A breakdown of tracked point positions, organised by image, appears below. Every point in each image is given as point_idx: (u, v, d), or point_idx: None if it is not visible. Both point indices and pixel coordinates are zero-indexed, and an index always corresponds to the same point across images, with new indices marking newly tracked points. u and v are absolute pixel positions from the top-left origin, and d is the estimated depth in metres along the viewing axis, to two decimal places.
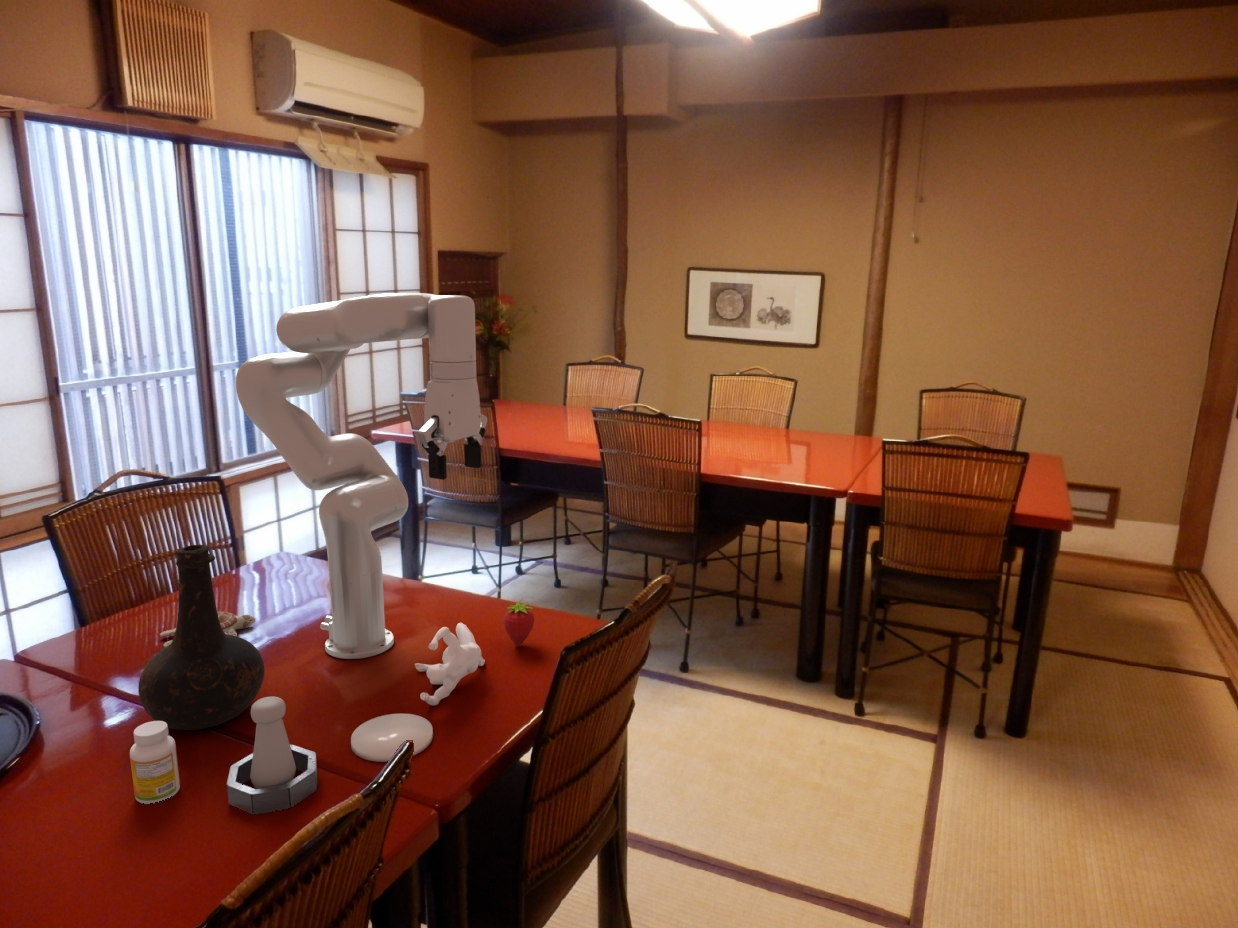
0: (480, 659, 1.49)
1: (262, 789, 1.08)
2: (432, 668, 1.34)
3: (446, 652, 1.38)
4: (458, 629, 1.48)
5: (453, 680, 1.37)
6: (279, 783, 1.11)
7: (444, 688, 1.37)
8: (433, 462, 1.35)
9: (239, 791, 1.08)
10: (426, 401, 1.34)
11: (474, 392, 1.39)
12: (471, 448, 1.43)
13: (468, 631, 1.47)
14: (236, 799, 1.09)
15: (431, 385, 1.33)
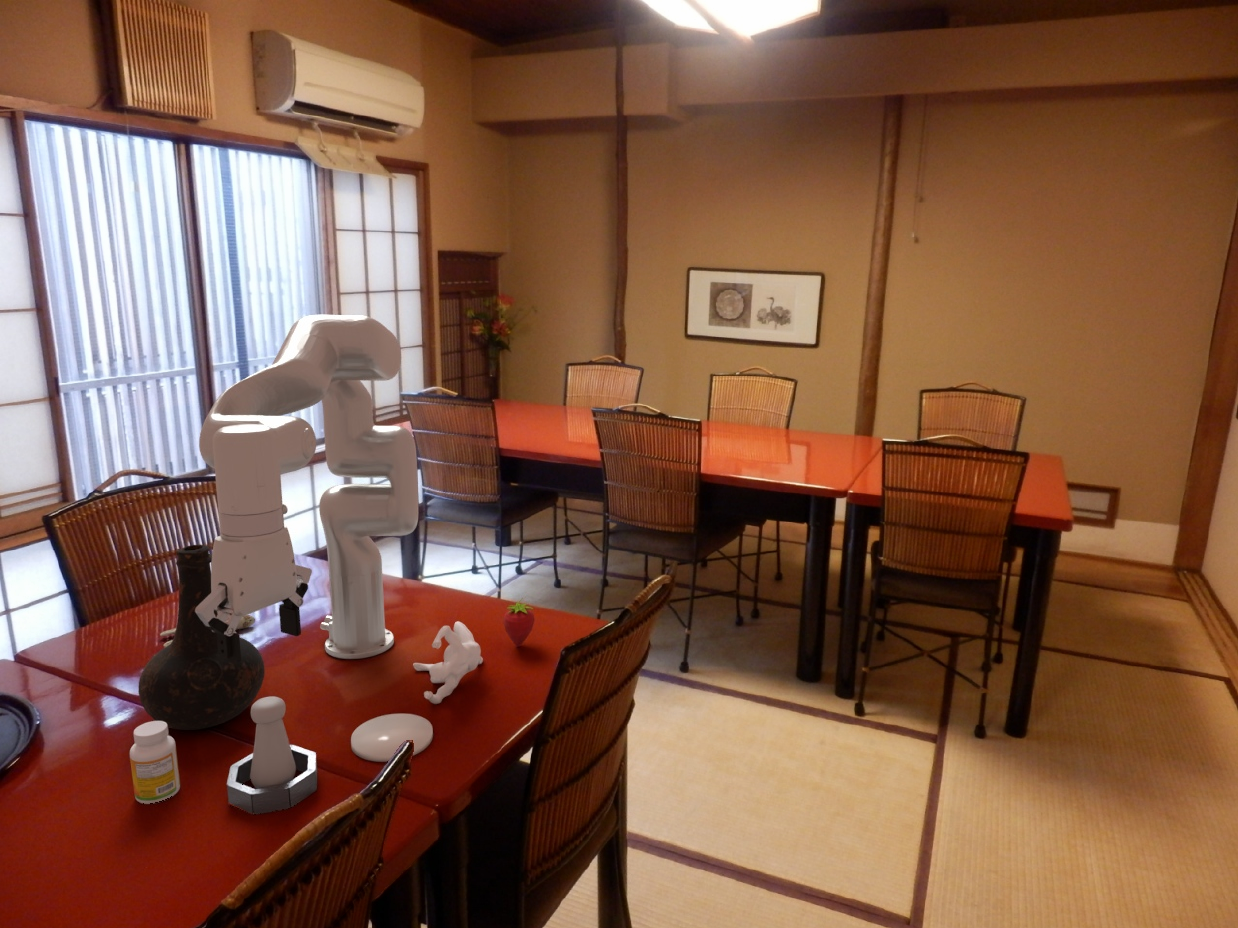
0: (478, 657, 1.50)
1: (262, 789, 1.08)
2: (435, 667, 1.34)
3: (448, 650, 1.38)
4: (457, 627, 1.48)
5: (455, 678, 1.38)
6: (279, 783, 1.11)
7: (446, 686, 1.38)
8: (222, 642, 1.03)
9: (239, 791, 1.08)
10: (212, 564, 1.03)
11: (283, 546, 1.08)
12: (287, 611, 1.12)
13: (466, 629, 1.48)
14: (236, 799, 1.09)
15: (217, 544, 1.02)
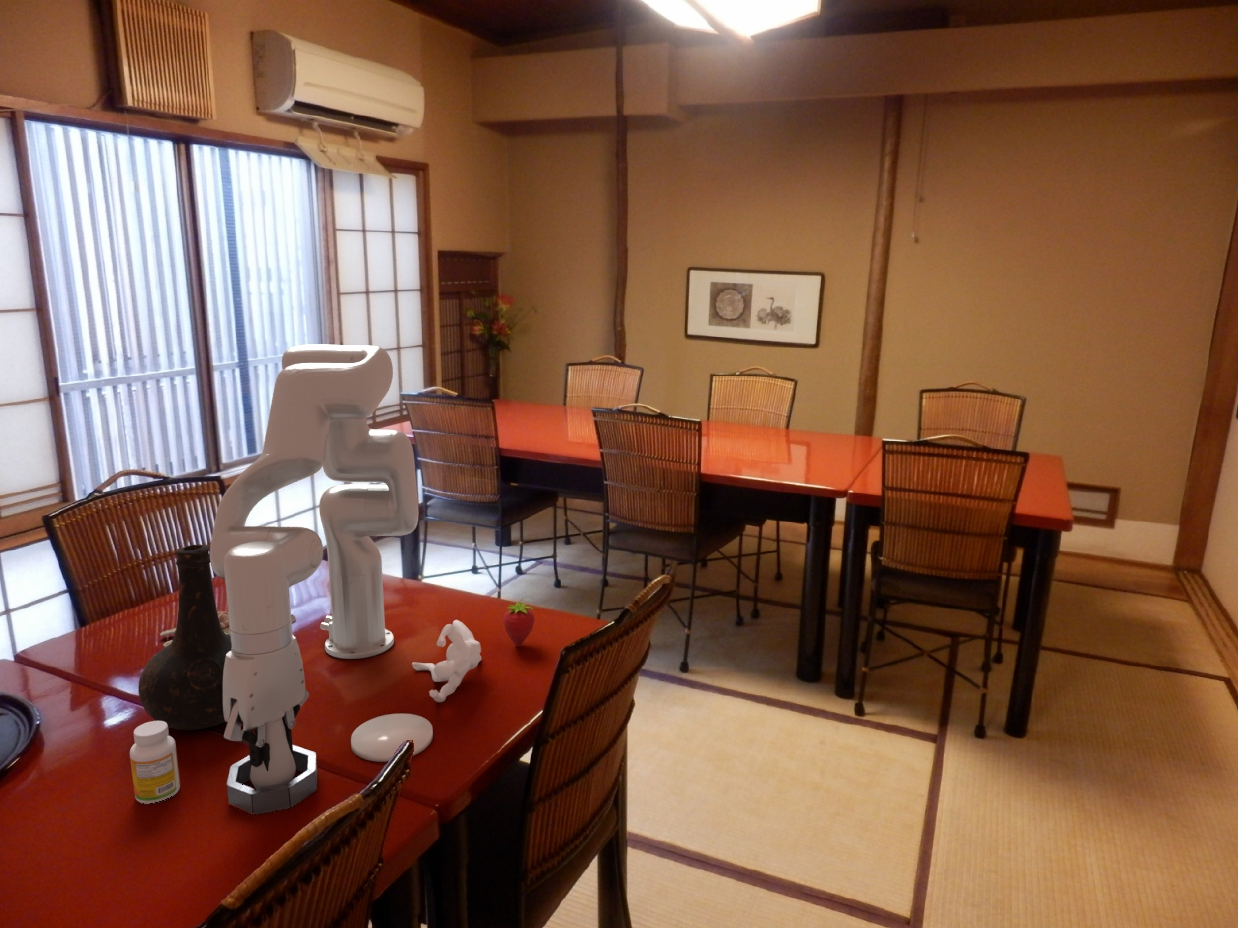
0: None
1: (262, 789, 1.08)
2: (439, 665, 1.35)
3: (450, 649, 1.39)
4: (456, 626, 1.49)
5: (459, 676, 1.39)
6: (279, 783, 1.11)
7: (450, 684, 1.38)
8: (254, 751, 1.10)
9: (239, 791, 1.08)
10: (224, 679, 1.07)
11: (292, 657, 1.11)
12: None
13: (466, 628, 1.48)
14: (236, 799, 1.09)
15: (229, 661, 1.06)
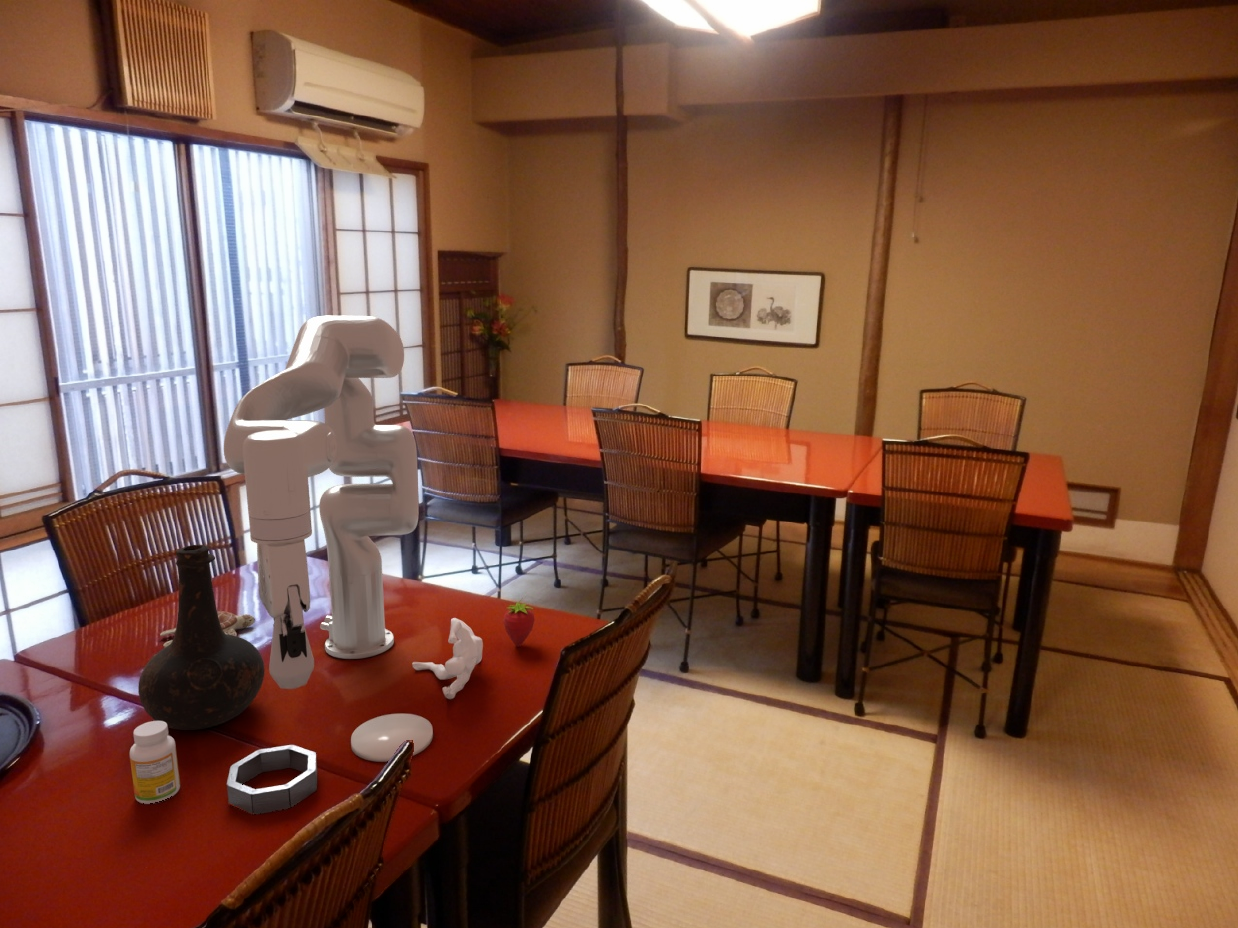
0: None
1: (262, 789, 1.08)
2: (451, 662, 1.36)
3: (458, 646, 1.40)
4: None
5: (467, 672, 1.40)
6: (313, 666, 1.13)
7: (459, 681, 1.40)
8: (293, 642, 1.10)
9: (239, 791, 1.08)
10: (275, 571, 1.05)
11: None
12: None
13: (466, 625, 1.50)
14: (236, 799, 1.09)
15: (282, 549, 1.05)
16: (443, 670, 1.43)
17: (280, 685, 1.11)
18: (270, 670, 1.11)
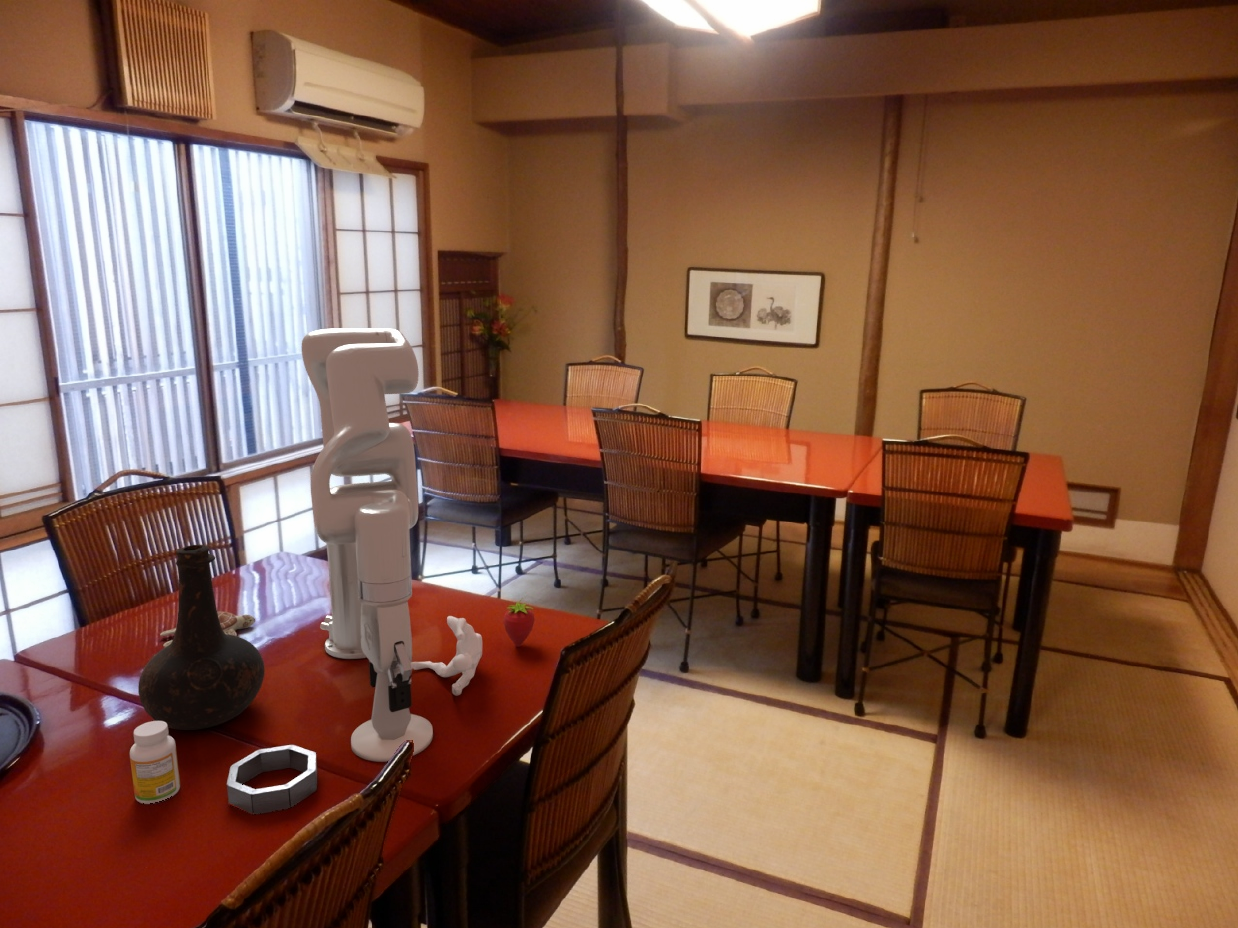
0: None
1: (262, 789, 1.08)
2: (459, 659, 1.37)
3: (462, 642, 1.42)
4: (452, 621, 1.51)
5: (473, 668, 1.42)
6: (410, 718, 1.26)
7: (465, 677, 1.41)
8: (401, 693, 1.20)
9: (239, 791, 1.08)
10: (384, 630, 1.17)
11: None
12: None
13: None
14: (236, 799, 1.09)
15: (390, 610, 1.17)
16: (446, 667, 1.44)
17: (382, 736, 1.24)
18: (373, 723, 1.24)
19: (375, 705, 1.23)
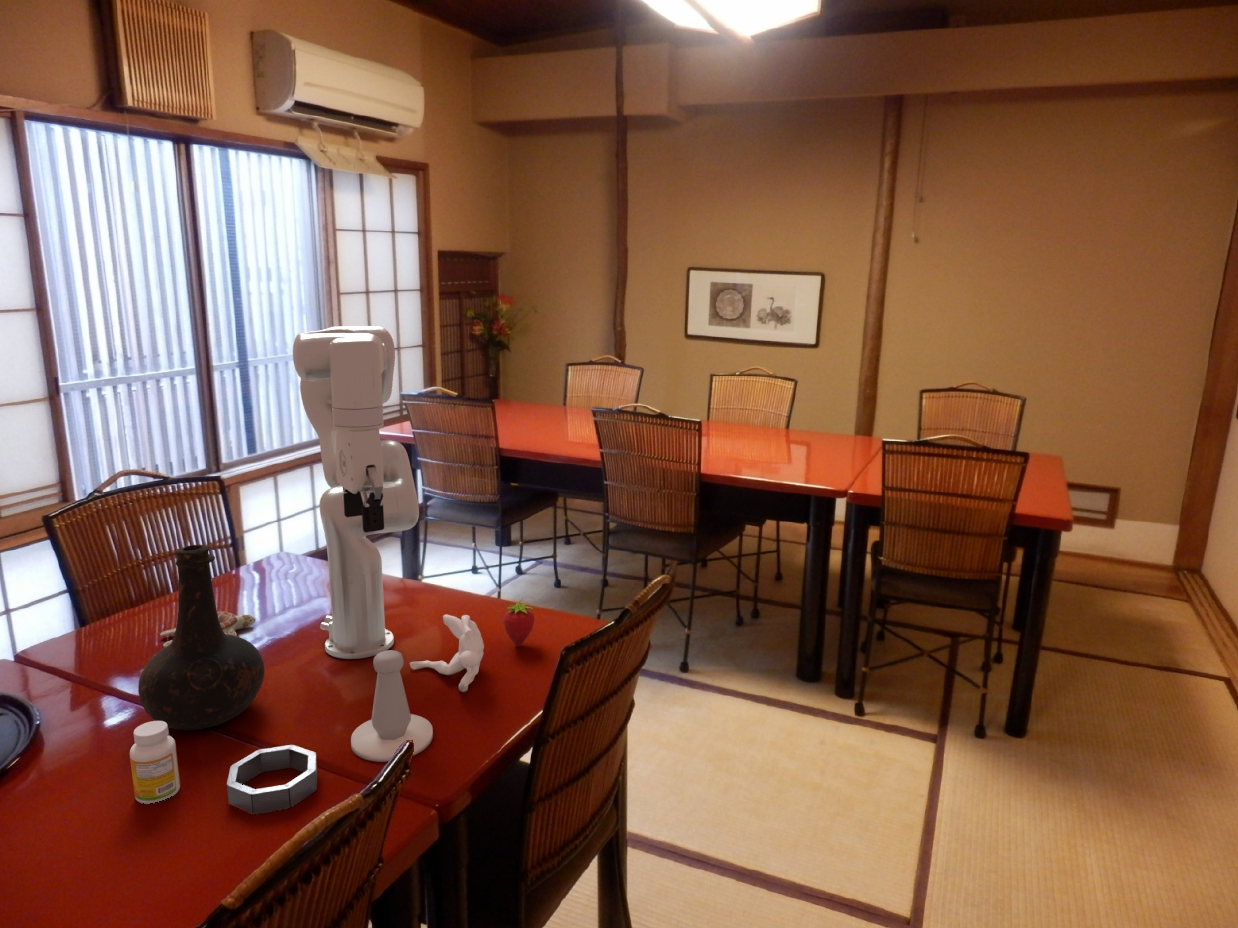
0: None
1: (262, 789, 1.08)
2: (467, 655, 1.39)
3: (466, 639, 1.43)
4: (449, 620, 1.52)
5: (478, 664, 1.43)
6: (410, 718, 1.26)
7: (471, 673, 1.42)
8: (373, 514, 1.27)
9: (239, 791, 1.08)
10: (356, 452, 1.25)
11: None
12: (355, 496, 1.36)
13: (460, 620, 1.52)
14: (236, 799, 1.09)
15: (362, 434, 1.25)
16: (449, 665, 1.45)
17: (382, 736, 1.24)
18: (373, 723, 1.24)
19: (375, 705, 1.24)
